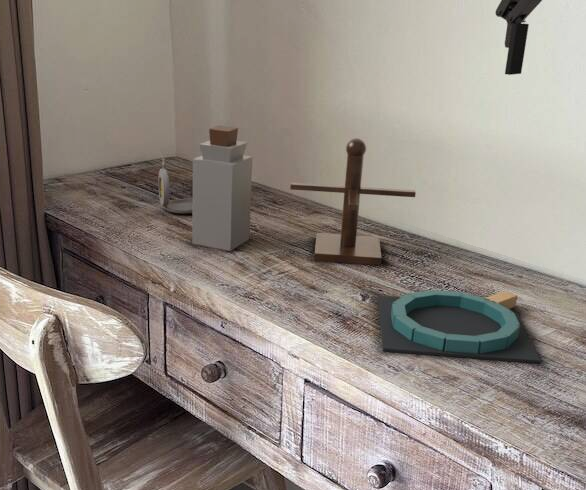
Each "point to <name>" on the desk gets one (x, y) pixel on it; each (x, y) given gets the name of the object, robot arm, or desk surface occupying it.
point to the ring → (488, 306)
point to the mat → (452, 332)
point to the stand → (350, 214)
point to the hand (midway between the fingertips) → (557, 81)
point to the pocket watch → (164, 194)
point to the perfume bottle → (221, 191)
